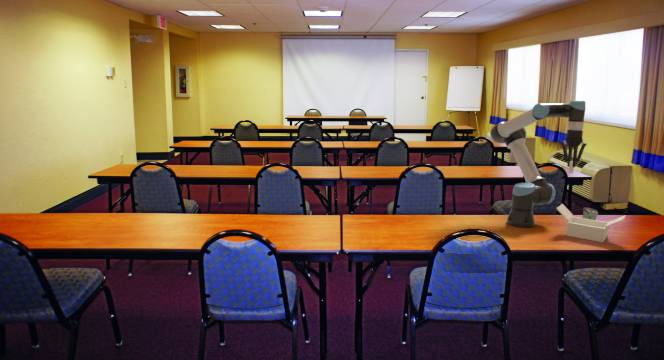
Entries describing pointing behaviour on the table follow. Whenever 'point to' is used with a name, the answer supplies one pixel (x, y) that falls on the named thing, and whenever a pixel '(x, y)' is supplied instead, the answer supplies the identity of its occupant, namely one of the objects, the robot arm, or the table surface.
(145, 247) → the table surface
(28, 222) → the table surface
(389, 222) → the table surface
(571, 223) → the carton
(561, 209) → the flap
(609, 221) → the flap
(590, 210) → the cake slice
